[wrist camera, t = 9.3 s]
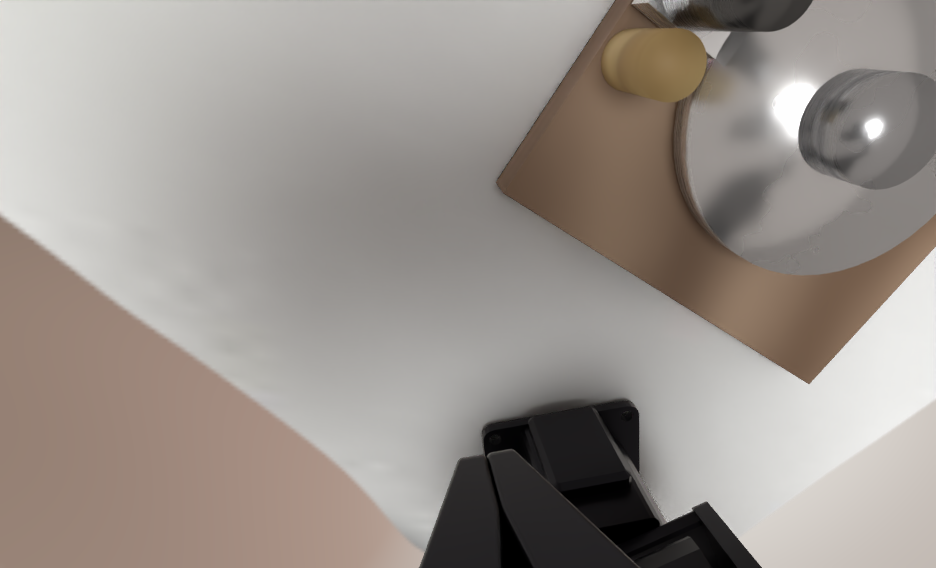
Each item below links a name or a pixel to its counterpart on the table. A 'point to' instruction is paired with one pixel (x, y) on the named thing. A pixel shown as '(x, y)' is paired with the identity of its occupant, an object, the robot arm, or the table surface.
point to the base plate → (678, 200)
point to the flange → (808, 127)
